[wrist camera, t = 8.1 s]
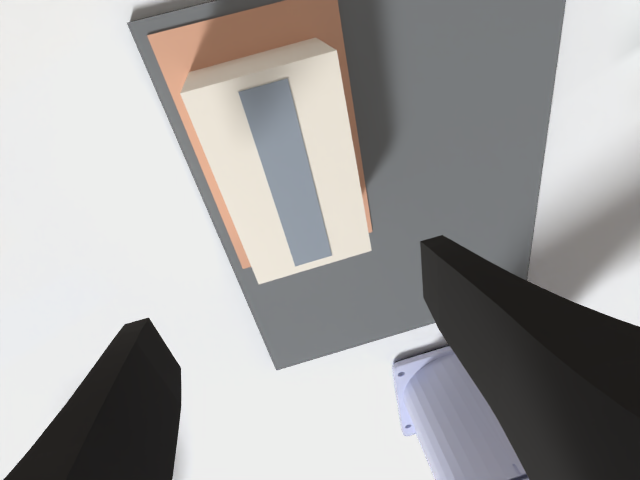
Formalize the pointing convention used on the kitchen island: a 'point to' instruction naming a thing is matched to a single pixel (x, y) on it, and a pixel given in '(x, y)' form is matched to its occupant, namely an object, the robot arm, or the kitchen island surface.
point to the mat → (386, 144)
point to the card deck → (282, 155)
